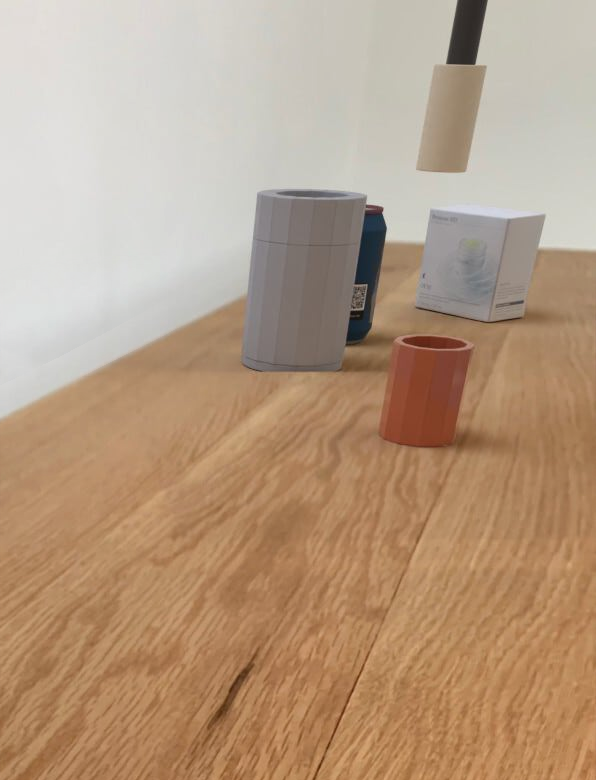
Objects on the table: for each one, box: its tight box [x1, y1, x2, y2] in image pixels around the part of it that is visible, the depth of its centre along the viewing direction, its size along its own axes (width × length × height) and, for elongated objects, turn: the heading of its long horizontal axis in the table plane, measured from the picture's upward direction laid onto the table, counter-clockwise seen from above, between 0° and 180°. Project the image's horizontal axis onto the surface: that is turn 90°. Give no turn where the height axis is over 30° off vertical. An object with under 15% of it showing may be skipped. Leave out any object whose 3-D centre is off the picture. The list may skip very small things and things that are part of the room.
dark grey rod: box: [415, 0, 489, 174], centre depth 69 cm, size 3×3×18 cm
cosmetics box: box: [414, 203, 547, 323], centre depth 121 cm, size 10×6×10 cm, turn 33°
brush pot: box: [378, 334, 476, 448], centre depth 78 cm, size 5×5×7 cm
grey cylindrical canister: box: [241, 188, 368, 373], centre depth 97 cm, size 9×9×14 cm
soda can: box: [345, 203, 388, 345], centre depth 108 cm, size 7×7×12 cm
